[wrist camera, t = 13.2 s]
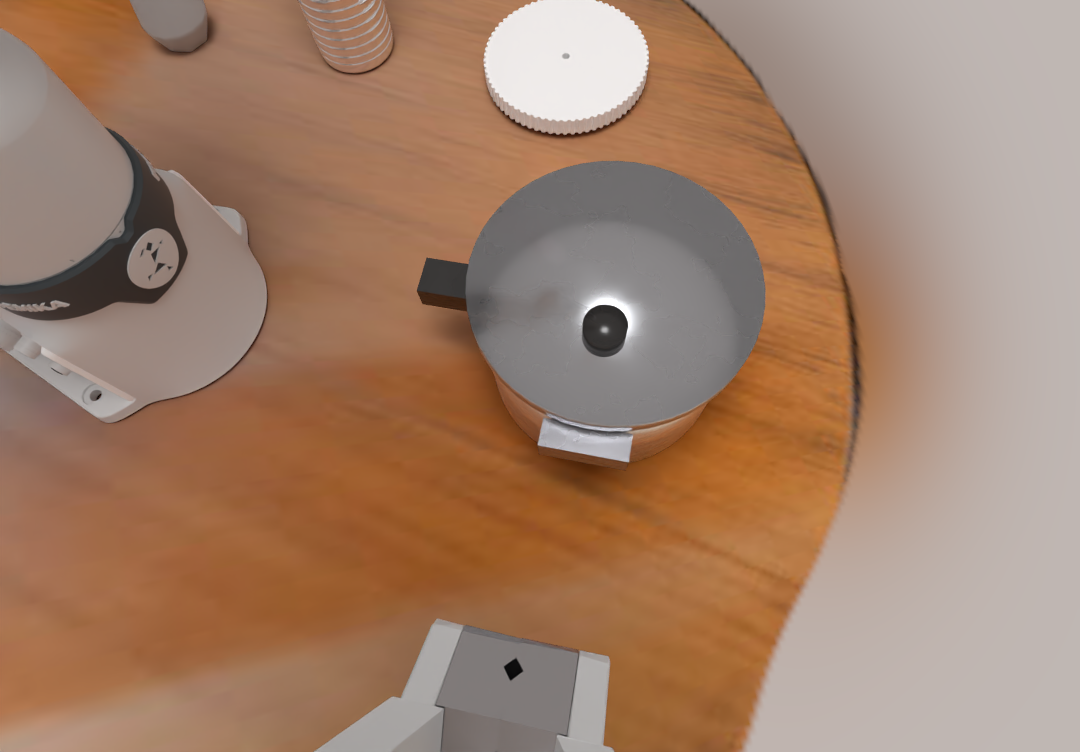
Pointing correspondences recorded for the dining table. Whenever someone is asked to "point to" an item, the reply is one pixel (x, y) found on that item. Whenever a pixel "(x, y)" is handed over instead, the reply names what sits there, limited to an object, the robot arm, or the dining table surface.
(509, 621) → the dining table surface
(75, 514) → the dining table surface
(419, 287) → the cooker pot
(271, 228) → the dining table surface
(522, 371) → the cooker lid
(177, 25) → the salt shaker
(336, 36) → the water bottle
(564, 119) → the plastic lid
